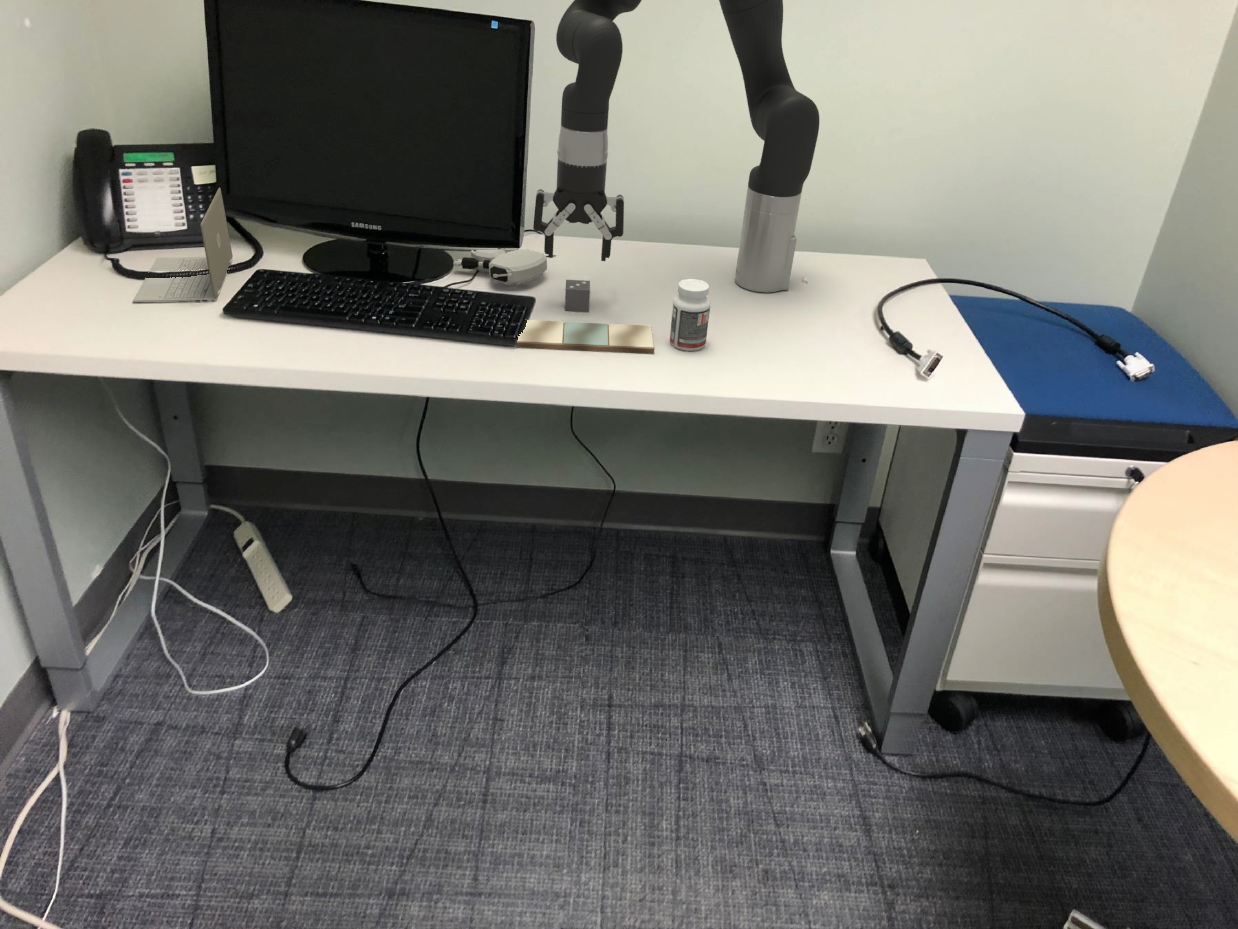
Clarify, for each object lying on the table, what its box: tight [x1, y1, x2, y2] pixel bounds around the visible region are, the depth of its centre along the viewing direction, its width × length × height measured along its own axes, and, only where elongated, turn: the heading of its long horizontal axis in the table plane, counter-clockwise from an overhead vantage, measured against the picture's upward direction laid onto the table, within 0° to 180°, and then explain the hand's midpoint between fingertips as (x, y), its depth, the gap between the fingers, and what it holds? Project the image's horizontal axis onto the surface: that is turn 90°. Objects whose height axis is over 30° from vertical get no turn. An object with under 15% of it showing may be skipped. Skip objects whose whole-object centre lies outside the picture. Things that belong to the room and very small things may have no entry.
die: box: [564, 279, 591, 313], centre depth 155 cm, size 4×4×4 cm
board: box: [516, 319, 655, 355], centre depth 146 cm, size 21×8×1 cm, turn 92°
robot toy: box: [453, 248, 557, 287], centre depth 164 cm, size 12×4×15 cm
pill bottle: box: [669, 278, 711, 352], centre depth 144 cm, size 6×6×10 cm
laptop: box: [132, 187, 233, 304], centre depth 152 cm, size 18×12×13 cm
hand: (576, 257), depth 152 cm, fingers open, 8 cm apart
